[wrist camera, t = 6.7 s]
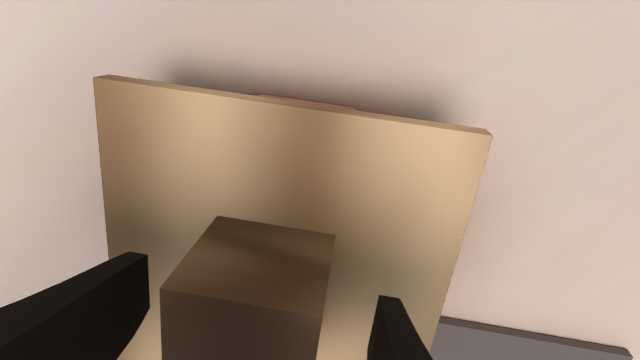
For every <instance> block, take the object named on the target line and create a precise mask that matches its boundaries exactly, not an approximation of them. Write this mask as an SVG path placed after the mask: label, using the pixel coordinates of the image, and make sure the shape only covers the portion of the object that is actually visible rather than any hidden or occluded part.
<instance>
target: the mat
mask: <svg viewBox="0 0 640 360" xmlns="http://www.w3.org/2000/svg"><path fill="white" fill-rule="evenodd" d="M429 353H430V355H431V357H432V358H433V360H632V358H633V356H632V355H631V354H630V353H629V351H628V350H627V349H623V348H618V347H612V346H606V345H601V344H595V343H589V342H584V341H578V340H572V339H566V338H561V337H555V336H549V335H544V334H538V333H532V332H527V331H521V330H515V329H509V328H504V327H498V326H492V325H487V324H481V323H475V322H469V321H464V320H458V319H452V318H447V317H441V316H440V318H439V322H438V325H437V328H436V332H435V335H434V339H433V342H432V345H431V349H430V352H429Z"/></svg>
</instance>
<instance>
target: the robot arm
mask: <svg viewBox="0 0 640 360" xmlns="http://www.w3.org/2000/svg"><path fill="white" fill-rule="evenodd" d="M149 309H150V294H149V271H148V255H147V254H142V253H136V252H130V251H129V252H126V253H124V254H121V255H119V256H117V257H114V258H112V259H110V260H108V261H106V262H104V263H102V264H99V265H97V266H95V267H93V268H91V269H89V270H87V271H85V272H83V273H80V274H78V275H76V276H74V277H72V278H70V279H68V280H66V281H63V282H61V283H59V284H57V285H54V286H52V287H50V288H47V289H45V290H43V291H40V292H38V293H36V294H33V295H31V296H29V297H26V298H24V299H22V300H19V301H17V302H14V303H12V304H9V305H6V306H4V307H1V308H0V360H118V357H119V356H120V355H121V353H122V352H123V351H124V349H125V348H126V347H127V345H128V344H129V342H130V341H131V340H132V338H133V337H134V335H135V334H136V332H137V330H138V329H139V327H140V325H141V323H142V322H143V320H144V318H145V316H146V314H147V313H148V311H149ZM367 360H433V358H432V357H431V355H430V353H429V352H428V350H427V348H426V347H425V345H424V343H423V342H422V340H421V338H420V336H419V334H418V333H417V331H416V329H415V327H414V325H413V323H412V321H411V319H410V317H409V315H408V313H407V311H406V309H405V307H404V305H403V303H402V301H401V300H400V298H395V297H389V296H383V295H379V297H378V302H377V306H376V311H375V315H374V320H373V325H372V329H371V334H370V338H369V343H368V348H367Z"/></svg>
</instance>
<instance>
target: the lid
mask: <svg viewBox="0 0 640 360" xmlns="http://www.w3.org/2000/svg"><path fill="white" fill-rule="evenodd" d="M93 84H94V96H95V107H96V118H97V130H98V141H99V152H100V164H101V175H102V186H103V198H104V209H105V220H106V232H107V243H108V254H109V260H110V259H112V258H114V257H117V256H119V255H121V254H124V253H126V252H129V251H130V252H136V253H142V254H147V255H148V271H149V294H150V309H149V311H148V313H147V314H146V316H145V318H144V320H143V322H142V323H141V325H140V327H139V329H138V330H137V332H136V334H135V335H134V337H133V338H132V340H131V341H130V342H129V344H128V345H127V347H126V348H125V349H124V351H123V352H122V353H121V355H120V356H119V357H118V360H367V348H368V343H369V338H370V334H371V329H372V325H373V320H374V315H375V311H376V306H377V302H378V297H379V295H383V296H389V297H395V298H400V300H401V301H402V303H403V305H404V307H405V309H406V311H407V313H408V315H409V317H410V319H411V321H412V323H413V325H414V327H415V329H416V331H417V333H418V334H419V336H420V338H421V340H422V342H423V343H424V345H425V347H426V348H427V350H428V352H430V349H431V345H432V342H433V339H434V335H435V332H436V328H437V325H438V322H439V318H440V315H441V311H442V308H443V304H444V301H445V298H446V294H447V291H448V287H449V284H450V281H451V277H452V274H453V270H454V267H455V264H456V260H457V257H458V253H459V250H460V247H461V243H462V240H463V236H464V233H465V229H466V226H467V223H468V219H469V216H470V212H471V209H472V206H473V202H474V199H475V195H476V192H477V189H478V185H479V182H480V178H481V175H482V171H483V168H484V165H485V161H486V158H487V154H488V151H489V148H490V144H491V141H492V137H493V135H491V134H490V133H489V132H488V131H487V130H486V129H481V128H474V127H467V126H460V125H454V124H447V123H440V122H433V121H426V120H419V119H412V118H405V117H398V116H391V115H385V114H378V113H371V112H364V111H357V110H350V109H343V108H336V107H329V106H322V105H316V104H309V103H302V102H295V101H288V100H281V99H274V98H267V97H260V96H253V95H247V94H240V93H233V92H226V91H219V90H212V89H205V88H198V87H191V86H184V85H178V84H171V83H164V82H157V81H150V80H143V79H136V78H129V77H122V76H115V75H104V76H98V77H93Z"/></svg>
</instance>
